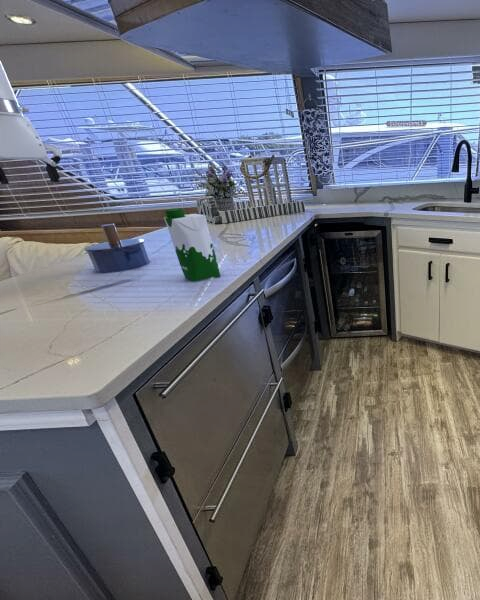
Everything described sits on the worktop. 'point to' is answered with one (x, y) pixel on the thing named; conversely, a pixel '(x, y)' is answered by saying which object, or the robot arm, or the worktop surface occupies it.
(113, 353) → the worktop surface
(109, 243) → the plate lid
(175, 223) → the milk carton
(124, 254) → the pot
